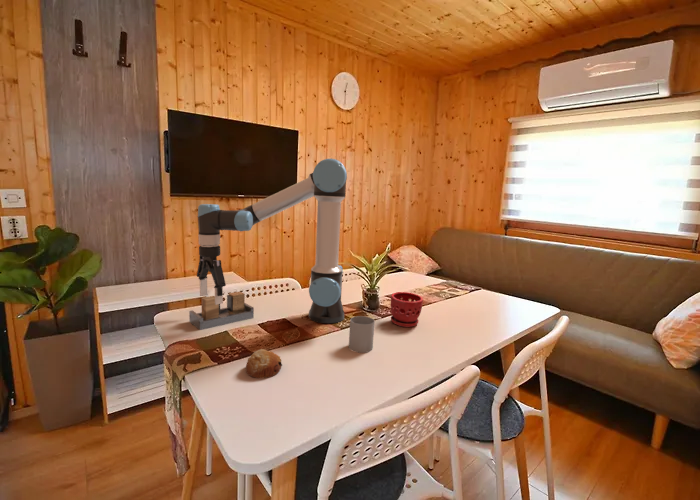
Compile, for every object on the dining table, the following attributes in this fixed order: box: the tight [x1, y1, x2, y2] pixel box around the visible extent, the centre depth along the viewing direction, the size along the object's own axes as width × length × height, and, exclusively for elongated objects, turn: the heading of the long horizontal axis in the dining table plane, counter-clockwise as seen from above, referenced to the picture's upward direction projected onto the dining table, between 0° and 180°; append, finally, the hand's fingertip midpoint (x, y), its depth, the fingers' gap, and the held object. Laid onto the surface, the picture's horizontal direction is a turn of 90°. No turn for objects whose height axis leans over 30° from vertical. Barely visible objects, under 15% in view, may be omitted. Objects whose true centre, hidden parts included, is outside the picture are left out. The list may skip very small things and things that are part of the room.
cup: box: [348, 315, 376, 354], centre depth 126 cm, size 8×8×10 cm
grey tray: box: [188, 291, 254, 331], centre depth 144 cm, size 10×22×10 cm, turn 134°
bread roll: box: [245, 348, 283, 379], centre depth 107 cm, size 10×10×8 cm
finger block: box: [200, 295, 221, 320], centre depth 141 cm, size 4×6×8 cm
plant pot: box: [390, 291, 424, 328], centre depth 152 cm, size 13×13×12 cm
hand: (211, 299), depth 140 cm, fingers open, 13 cm apart
